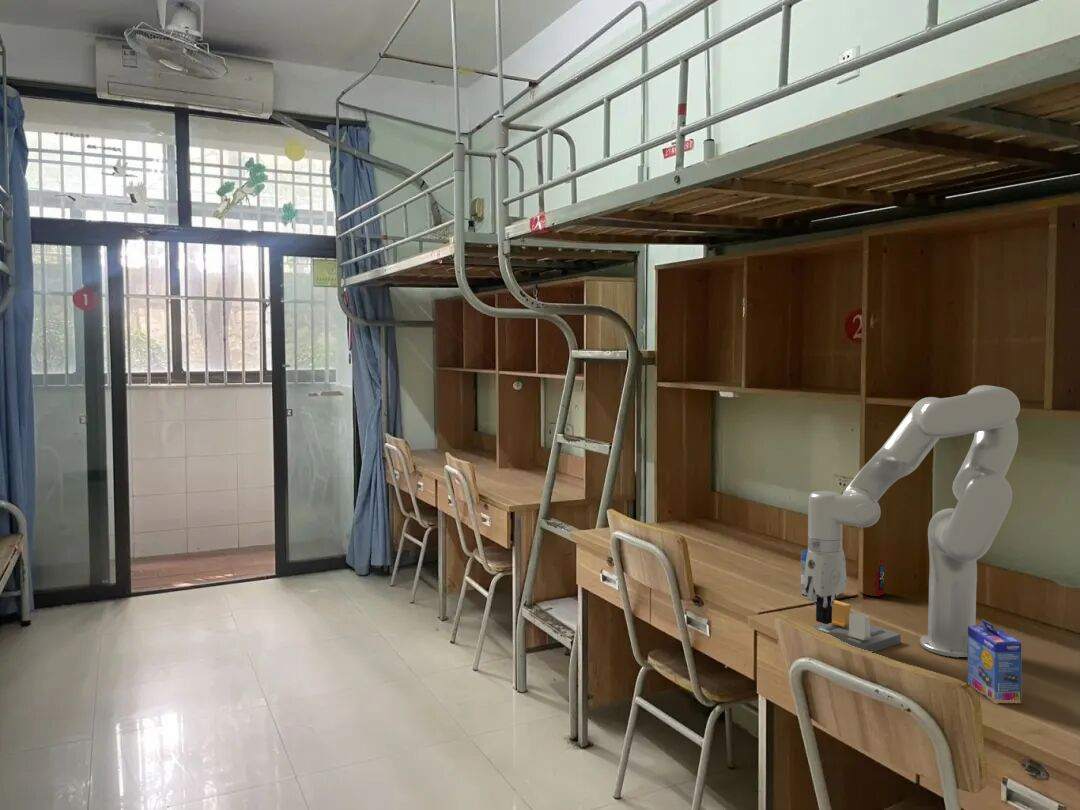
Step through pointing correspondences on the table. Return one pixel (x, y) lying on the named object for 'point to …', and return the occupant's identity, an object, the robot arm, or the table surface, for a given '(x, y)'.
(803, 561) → the label tape box
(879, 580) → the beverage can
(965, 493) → the robot arm
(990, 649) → the ink cartridge box
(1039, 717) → the table surface
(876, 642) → the breaker panel
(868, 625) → the white breaker handle
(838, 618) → the orange breaker handle
